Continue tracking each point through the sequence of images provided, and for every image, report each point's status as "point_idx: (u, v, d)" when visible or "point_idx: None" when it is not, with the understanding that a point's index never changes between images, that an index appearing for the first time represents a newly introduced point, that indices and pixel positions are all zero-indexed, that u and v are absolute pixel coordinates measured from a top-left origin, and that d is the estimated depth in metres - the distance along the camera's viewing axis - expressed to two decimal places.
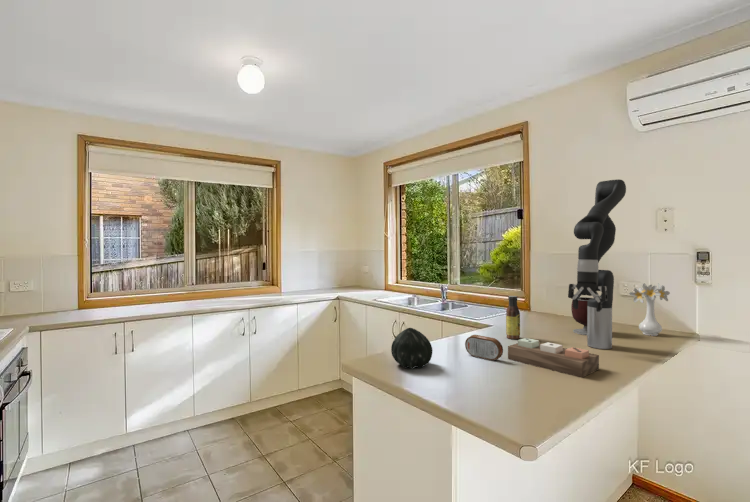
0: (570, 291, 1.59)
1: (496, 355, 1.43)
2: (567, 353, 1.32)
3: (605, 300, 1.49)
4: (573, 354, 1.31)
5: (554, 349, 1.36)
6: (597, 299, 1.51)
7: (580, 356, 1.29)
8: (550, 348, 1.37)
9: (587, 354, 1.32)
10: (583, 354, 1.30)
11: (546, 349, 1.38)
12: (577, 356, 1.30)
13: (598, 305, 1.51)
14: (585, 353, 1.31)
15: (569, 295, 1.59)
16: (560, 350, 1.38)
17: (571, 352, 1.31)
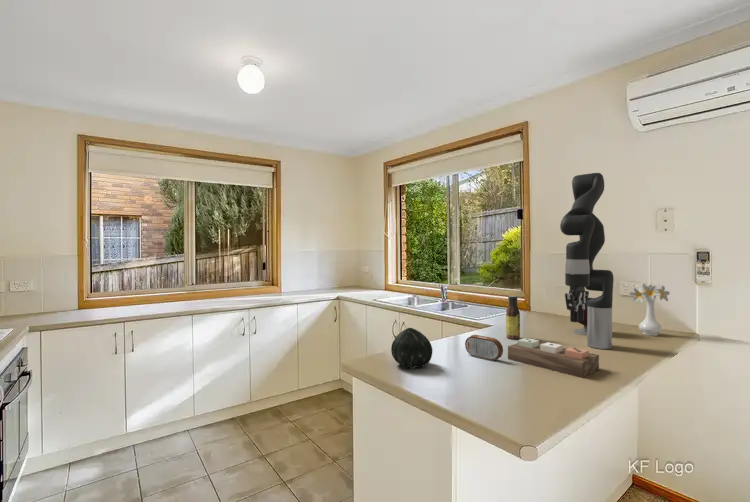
0: (574, 302, 1.28)
1: (496, 355, 1.43)
2: (567, 353, 1.32)
3: None
4: (573, 354, 1.31)
5: (554, 349, 1.36)
6: (584, 306, 1.33)
7: (580, 356, 1.29)
8: (550, 348, 1.37)
9: (587, 354, 1.32)
10: (583, 354, 1.30)
11: (546, 349, 1.38)
12: (577, 356, 1.30)
13: None
14: (585, 353, 1.31)
15: (574, 307, 1.29)
16: (560, 350, 1.38)
17: (571, 352, 1.31)
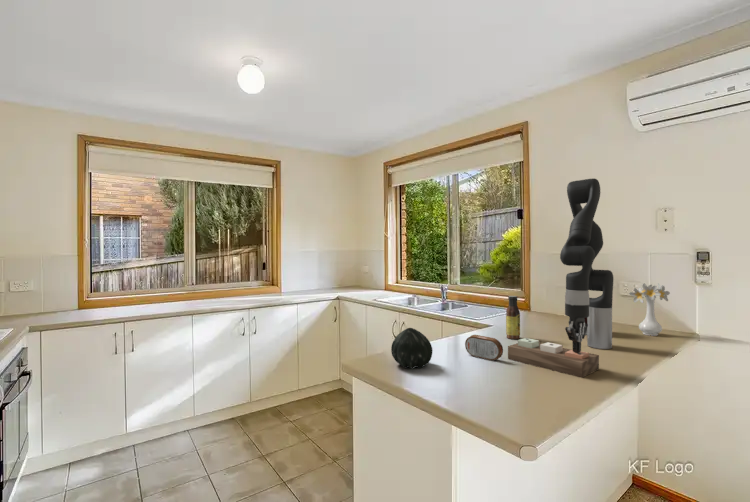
0: (575, 334, 1.29)
1: (496, 355, 1.43)
2: (567, 355, 1.32)
3: None
4: (573, 356, 1.31)
5: (554, 349, 1.36)
6: (581, 337, 1.32)
7: (580, 358, 1.29)
8: (550, 348, 1.37)
9: (587, 356, 1.32)
10: (583, 356, 1.30)
11: (546, 349, 1.38)
12: None
13: None
14: (585, 355, 1.31)
15: (577, 338, 1.30)
16: (560, 350, 1.38)
17: (571, 354, 1.31)
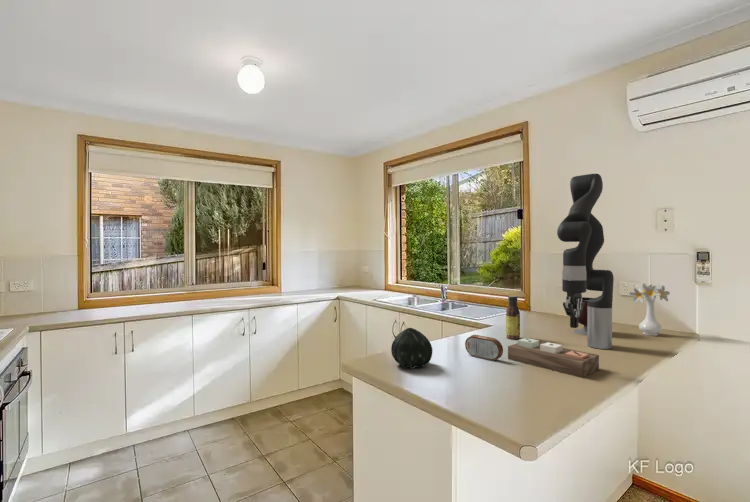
0: (572, 309, 1.30)
1: (496, 355, 1.43)
2: None
3: None
4: None
5: (554, 349, 1.36)
6: (578, 313, 1.33)
7: None
8: (550, 348, 1.37)
9: None
10: (583, 358, 1.30)
11: (546, 349, 1.38)
12: None
13: None
14: (585, 357, 1.31)
15: (574, 313, 1.31)
16: (560, 350, 1.38)
17: (571, 356, 1.31)
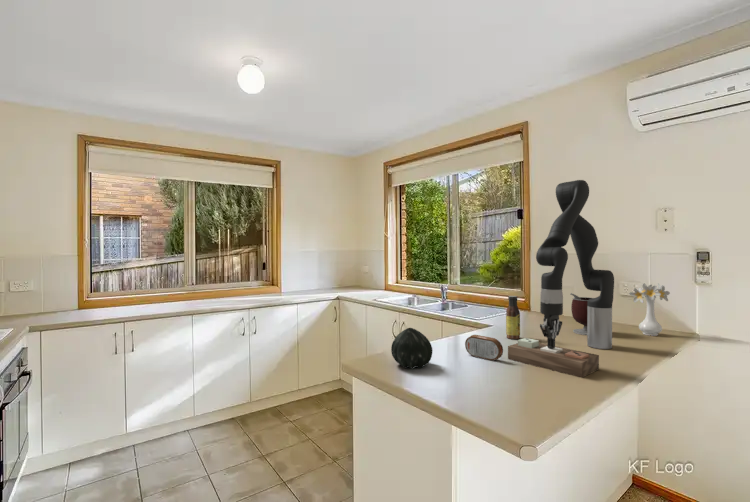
0: (549, 331, 1.36)
1: (496, 355, 1.43)
2: None
3: None
4: None
5: None
6: (555, 334, 1.39)
7: None
8: (550, 352, 1.37)
9: None
10: (583, 358, 1.30)
11: None
12: None
13: (554, 341, 1.39)
14: (585, 357, 1.31)
15: (551, 334, 1.37)
16: None
17: (571, 356, 1.31)
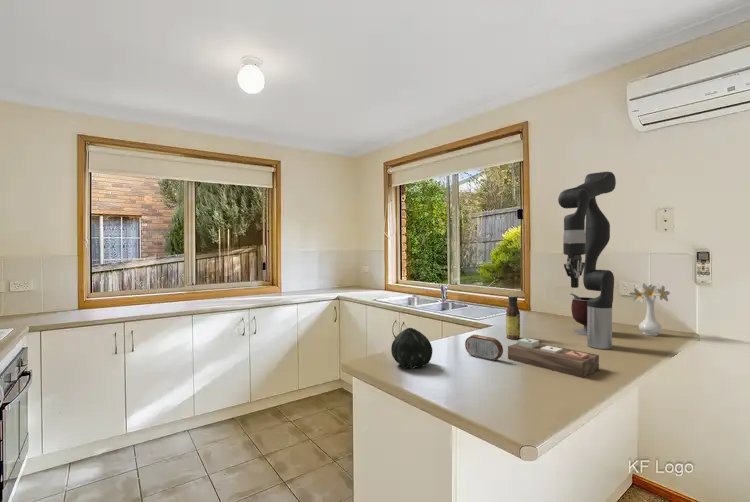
0: (573, 270, 1.41)
1: (496, 355, 1.43)
2: None
3: None
4: None
5: None
6: (579, 274, 1.44)
7: None
8: (550, 352, 1.37)
9: None
10: (583, 358, 1.30)
11: None
12: None
13: None
14: (585, 357, 1.31)
15: (574, 273, 1.41)
16: None
17: (571, 356, 1.31)
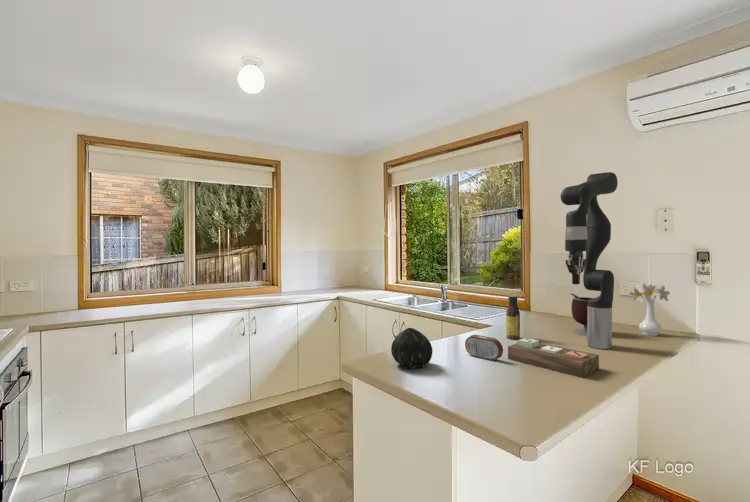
0: (574, 266, 1.41)
1: (496, 355, 1.43)
2: None
3: None
4: None
5: None
6: (580, 271, 1.44)
7: None
8: (550, 352, 1.37)
9: None
10: (583, 358, 1.30)
11: None
12: None
13: None
14: (585, 357, 1.31)
15: (576, 270, 1.42)
16: None
17: (571, 356, 1.31)
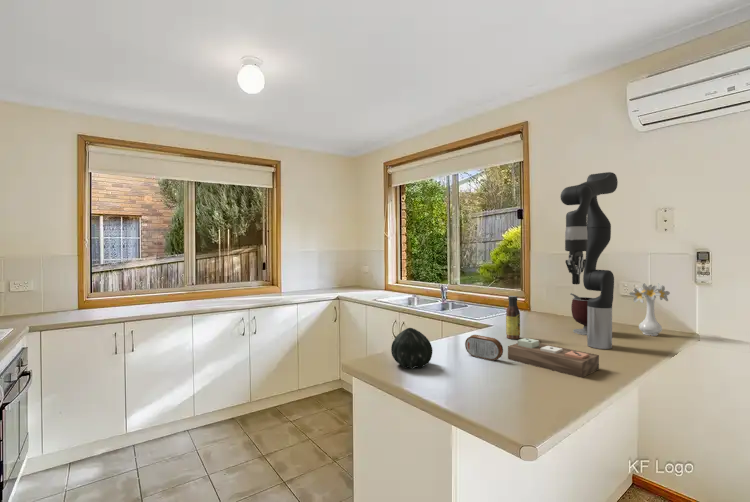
0: (574, 266, 1.41)
1: (496, 355, 1.43)
2: None
3: None
4: None
5: None
6: (580, 271, 1.44)
7: None
8: (550, 352, 1.37)
9: None
10: (583, 358, 1.30)
11: None
12: None
13: None
14: (585, 357, 1.31)
15: (576, 270, 1.42)
16: None
17: (571, 356, 1.31)
